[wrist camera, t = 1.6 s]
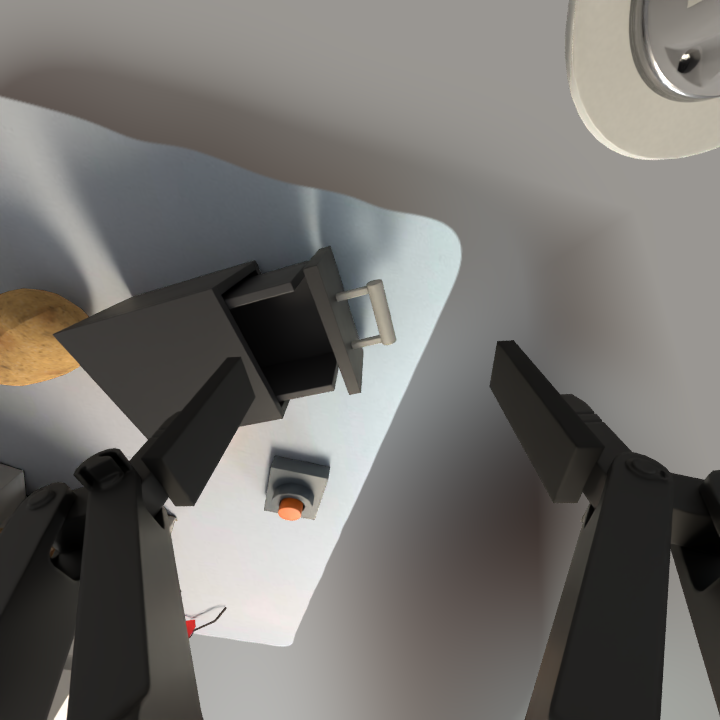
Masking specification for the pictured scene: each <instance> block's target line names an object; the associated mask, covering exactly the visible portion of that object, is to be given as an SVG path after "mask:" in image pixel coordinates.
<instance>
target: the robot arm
mask: <svg viewBox="0 0 720 720" xmlns="http://www.w3.org/2000/svg"><path fill="white" fill-rule="evenodd" d="M629 41H630V48H631V54H632V57H633V61H634V64H635V67H636V69H637V71H638V73H639V75H640V77H641V78H642V80H643V81H644V83H645V84H646V85H647V86H648V87H649V88H650V89H651V90H652V91H653V92H655V93H656V94H658V95H660V96H661V97H664V98H666V99H669V100H672V101H677V102H700V101H706V100H710V99H714V98H718V97H720V0H631V4H630V14H629ZM490 388H491V390H492V392H493V394H494V395H495V397H496V399H497V401H498V402H499V405H500V407H501V408H502V410H503V412H504V414H505V416H506V417H507V419H508V421H509V423H510V425H511V427H512V428H513V430H514V432H515V434H516V436H517V437H518V439H519V441H520V443H521V445H522V447H523V448H524V450H525V452H526V454H527V456H528V458H529V459H530V461H531V463H532V465H533V467H534V468H535V470H536V472H537V474H538V476H539V478H540V479H541V481H542V483H543V485H544V487H545V489H546V490H547V492H548V494H549V496H550V497H551V499H552V501H553V503H577V502H578V500H579V498H580V496H581V494H582V492H583V493H584V494H585V496H586V497H587V499H588V500H589V502H590V504H589V506H588V508H587V510H586V512H585V514H584V515H583V517H582V519H581V522H582V523H583V524H582V528H581V531H580V535H579V538H578V541H577V545H576V548H575V551H574V555H573V558H572V562H571V565H570V569H569V572H568V575H567V578H566V582H565V585H564V589H563V592H562V595H561V599H560V602H559V605H558V609H557V612H556V616H555V619H554V623H553V626H552V629H551V632H550V636H549V639H548V643H547V646H546V649H545V653H544V656H543V659H542V663H541V666H540V670H539V673H538V677H537V680H536V683H535V686H534V690H533V693H532V697H531V700H530V703H529V707H528V710H527V714H526V717H525V720H660V716H661V699H662V682H663V666H664V649H665V632H666V615H667V599H668V582H669V565H670V549H671V552H672V555H673V558H674V562H675V565H676V569H677V572H678V575H679V579H680V582H681V586H682V589H683V592H684V595H685V599H686V603H687V606H688V609H689V612H690V616H691V619H692V623H693V626H694V630H695V633H696V637H697V640H698V643H699V647H700V650H701V653H702V657H703V660H704V664H705V667H706V670H707V674H708V677H709V681H710V684H711V687H712V691H713V694H714V698H715V701H716V704H717V708H718V711H719V714H720V470H716V471H712V472H711V473H710V474H709V475H708V476H707V478H706V479H705V480H702V479H698V478H693V477H688V476H683V475H678V474H674V473H670V472H669V471H668V470H667V468H666V467H664V466H663V465H661V464H660V463H659V462H657V461H656V460H653V459H651V458H649V457H647V456H645V455H641V454H638V453H634V452H632V451H631V450H630V449H629V448H628V447H627V446H626V445H625V444H624V443H623V442H622V441H621V440H620V439H619V438H618V437H617V436H616V434H615V433H614V432H613V431H612V430H611V429H610V428H609V427H608V426H607V425H606V424H605V423H604V422H602V420H601V419H600V417H599V416H598V415H597V414H594V411H593V410H592V409H591V408H590V407H589V406H588V405H587V404H586V403H585V402H584V401H582V400H580V399H579V398H577V397H575V396H574V395H572V394H562V395H560V394H559V393H558V391H557V390H556V389H555V388H554V387H553V386H552V384H551V383H550V382H549V381H548V380H547V379H546V378H545V376H544V375H543V374H542V373H541V372H540V370H539V369H538V368H537V367H536V366H535V365H534V364H533V363H532V361H531V360H530V359H529V358H528V357H527V355H526V354H525V353H524V352H523V351H522V350H521V348H520V347H519V346H518V345H517V344H516V343H515V341H514V340H511V341H497V346H496V352H495V357H494V363H493V369H492V375H491V381H490ZM254 399H255V394H254V391H253V388H252V386H251V383H250V380H249V377H248V374H247V372H246V369H245V366H244V363H243V361H242V358H241V357H227V358H226V359H225V361H224V362H223V363H222V364H221V365H220V366H219V368H218V369H217V370H216V371H215V372H214V373H213V375H212V376H211V377H210V378H209V379H208V380H207V382H206V383H205V384H204V385H203V386H202V387H201V389H200V390H199V391H198V392H197V393H196V394H195V396H194V397H193V398H192V399H191V400H190V401H189V403H188V404H187V405H186V406H185V407H184V408H183V410H182V411H177V412H176V413H175V414H173V415H172V416H170V417H169V418H168V419H166V420H165V422H164V423H163V424H162V425H161V426H160V427H159V428H158V430H156V432H155V433H154V434H153V435H152V438H149V439H148V441H147V442H146V443H145V444H144V445H143V446H142V447H141V448H140V450H139V451H138V452H137V453H136V454H135V455H134V456H133V457H132V459H131V460H130V461H128V459H127V458H126V457H125V455H124V454H123V453H122V451H121V450H120V449H116V448H113V449H107V450H104V451H101V452H98V453H97V454H95V455H93V456H91V457H89V458H88V459H87V460H85V461H84V462H83V463H82V464H81V465H80V466H79V467H78V468H77V469H76V471H75V473H74V476H75V477H76V478H77V479H78V480H79V481H80V483H81V484H82V485H83V486H84V487H82V488H78V489H75V490H71V489H70V488H69V487H68V486H67V485H66V484H65V483H62V482H57V483H53V484H50V485H47V486H45V487H42V488H40V489H38V490H37V491H35V492H33V493H32V494H31V495H30V496H28V497H27V498H26V499H25V500H23V501H22V502H21V504H20V505H19V506H18V507H17V508H16V510H15V511H14V513H13V514H12V516H11V518H10V519H9V521H8V522H7V524H6V525H5V527H4V528H3V530H2V531H1V533H0V720H47V718H48V715H49V712H50V709H51V706H52V703H53V700H54V697H55V693H56V690H57V687H58V684H59V681H60V678H61V675H62V672H63V669H64V666H65V663H66V660H67V657H68V654H69V651H70V648H71V645H72V642H73V639H74V646H73V657H72V667H71V678H70V688H69V699H68V709H67V720H203V717H202V713H201V708H200V702H199V696H198V690H197V684H196V679H195V673H194V667H193V661H192V656H191V650H190V644H189V638H188V632H187V626H186V621H185V615H184V609H183V603H182V597H181V592H180V586H179V580H178V574H177V568H176V563H175V557H174V551H173V545H172V539H171V534H170V528H169V522H168V516H167V511H166V509H165V508H164V506H163V505H164V503H165V502H166V500H167V499H168V497H169V498H170V499H171V501H172V502H173V504H174V505H175V506H194V505H195V503H196V502H197V500H198V498H199V496H200V495H201V493H202V491H203V489H204V487H205V486H206V484H207V482H208V480H209V479H210V477H211V475H212V473H213V472H214V470H215V468H216V466H217V465H218V463H219V461H220V459H221V457H222V456H223V454H224V452H225V450H226V449H227V447H228V445H229V443H230V442H231V440H232V438H233V436H234V435H235V433H236V431H237V429H238V427H239V426H240V424H241V422H242V420H243V419H244V417H245V415H246V413H247V412H248V410H249V408H250V406H251V405H252V403H253V401H254ZM52 547H54V548H55V551H54V553H53V555H52V557H51V558H50V552H51V548H52Z"/></svg>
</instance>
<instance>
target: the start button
mask: <svg viewBox="0 0 720 720" xmlns="http://www.w3.org/2000/svg"><path fill="white" fill-rule="evenodd" d="M302 509H303V503H302V502H301V501H299V500H298V499H294V498H284V499H283V500H282V501H281V504H280V507H279V511H278V514H279V516H280V517H281V518H283V519H285V520H291V521H293V520H297V519H299V518H300V517H301V514H302Z"/></svg>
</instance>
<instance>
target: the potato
mask: <svg viewBox="0 0 720 720" xmlns="http://www.w3.org/2000/svg"><path fill="white" fill-rule="evenodd" d="M88 317H89V316H88V315H87V314H86V313H85V312H84V311H83V310H82V309H81V308H79V307H78V306H76V305H75V304H73V303H72V302H70V301H69V300H67V299H65V298H63V297H62V296H60V295H58V294H55V293H52V292H48V291H44V290H37V289H25V288H22V289H17V290H12V291H8V292H5V293H2V294H0V384H3V385H12V386H24V385H29V384H34V383H38V382H42V381H46V380H50V379H53V378H56V377H59V376H62V375H64V374H67V373H69V372H71V371H73V370H74V369H76V368H78V367H79V366H80V365H79V363H78V362H77V361H76V360H75V359H74V358H73V357H72V356H71V355H70V354H69V352H68V351H67V350H66V349H65V348H64V347H63V346H62V345H61V344H60V343H59V342H58V340H57V339H56V338H55V337H54V336H53V335H52V334H54V333H56V332H58V331H61V330H63V329H65V328H67V327H69V326H71V325H73V324H75V323H78V322H80V321H82V320H84V319H86V318H88Z"/></svg>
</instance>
